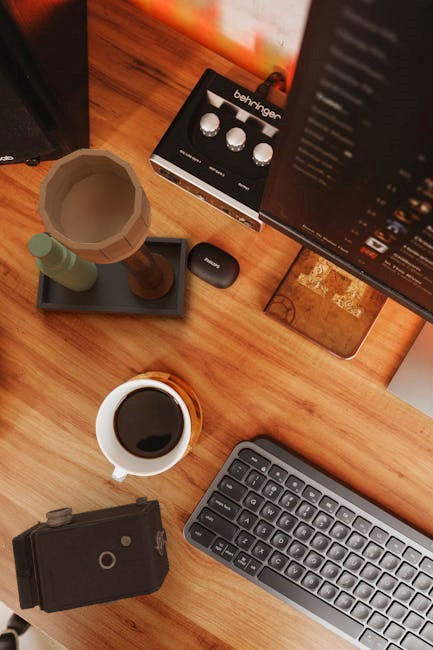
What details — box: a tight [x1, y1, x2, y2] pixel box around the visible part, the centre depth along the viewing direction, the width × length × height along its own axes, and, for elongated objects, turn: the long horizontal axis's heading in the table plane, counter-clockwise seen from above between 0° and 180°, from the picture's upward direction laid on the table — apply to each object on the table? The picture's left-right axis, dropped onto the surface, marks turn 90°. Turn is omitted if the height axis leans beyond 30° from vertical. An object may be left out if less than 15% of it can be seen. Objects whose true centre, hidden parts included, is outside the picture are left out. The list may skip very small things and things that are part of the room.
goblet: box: [37, 148, 175, 301], centre depth 53 cm, size 7×7×28 cm
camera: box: [11, 496, 172, 614], centre depth 59 cm, size 11×11×15 cm
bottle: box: [27, 232, 98, 292], centre depth 61 cm, size 4×4×14 cm
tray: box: [36, 231, 189, 319], centre depth 67 cm, size 17×9×2 cm, turn 87°
